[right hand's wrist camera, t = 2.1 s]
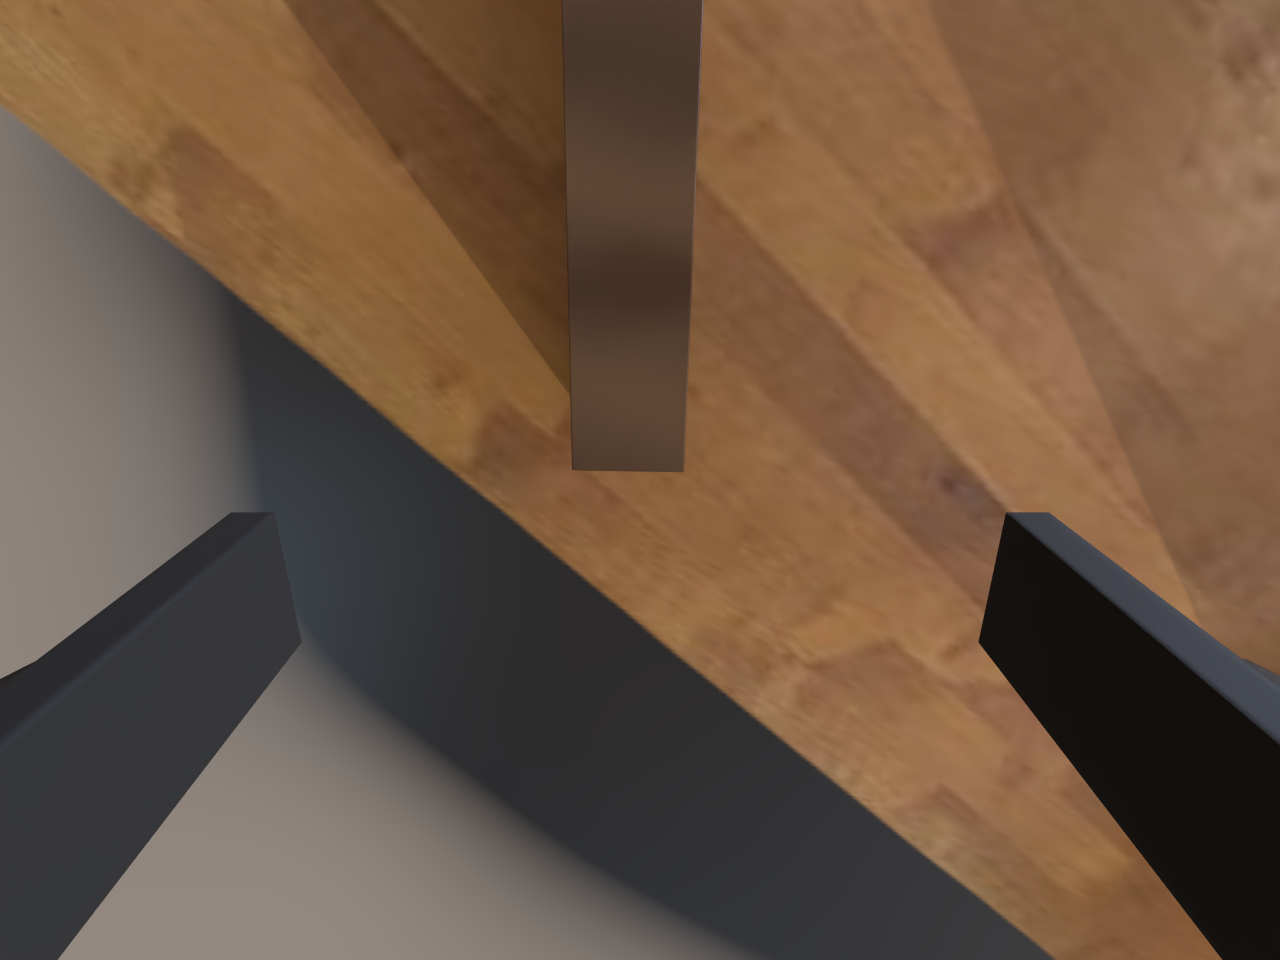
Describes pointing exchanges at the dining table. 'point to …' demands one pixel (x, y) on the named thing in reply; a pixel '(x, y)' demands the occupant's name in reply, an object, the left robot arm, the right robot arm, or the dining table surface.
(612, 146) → the bar
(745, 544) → the dining table surface
